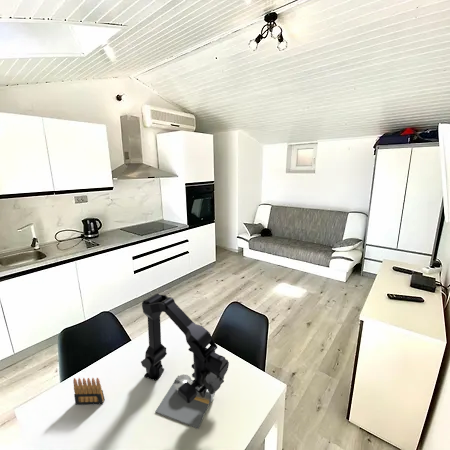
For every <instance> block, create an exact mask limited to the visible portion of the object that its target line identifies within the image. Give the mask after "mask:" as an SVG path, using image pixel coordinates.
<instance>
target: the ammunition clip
mask: <svg viewBox="0 0 450 450" xmlns="http://www.w3.org/2000/svg"><path fill="white" fill-rule="evenodd" d="M95 380H96V381H95ZM73 390H74V394H73V395H74V401H75V403H74V404H75V405H76V406H80V405H81V406H85V405H87V406H89V405H91V406H93V405H103V404H104V402H105V396H104V395H105V394H104V390H103V389H102V385H101V382H100V378H99V377H96V379H95V378H94V377H92V378H91V379H90V377H87V379H86V378H85V377H83V379H81V378H80V377H78V379H76V378H75V377H74V378H73Z"/></svg>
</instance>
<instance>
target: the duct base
mask: <svg viewBox="0 0 450 450" xmlns="http://www.w3.org/2000/svg"><path fill="white" fill-rule="evenodd" d="M193 380H194V379H191V381H193ZM210 404H211V402H209V401H208V400H204V399H201V398H197V397H195V399H193V400H192V401H191V402H190V403H187V402H186V401H185V400H184V399H183V398H182V397H181V396H180V395H179V394H178V392H176V391H175V388H174V382H173V383H172V385H171V386H170V387H169V389H168V391H167V392H166V394H165V395H164V397H163V398H162V400H161V402H160V403H159V404H158V406H157V408H156V410H155V413H156V414H159V415H161V416H164V417H165V418H169V419H171V420H174V421H176V422H179V423H182V424H184V425H187V426H188V427H189V426H190V427H193V428H195V429H197V430H199V429H200V426H201V424H202V421H203V419H204V416H205V415H206V412H207V410H208V407H209V405H210Z"/></svg>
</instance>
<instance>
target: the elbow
mask: <svg viewBox="0 0 450 450" xmlns="http://www.w3.org/2000/svg"><path fill="white" fill-rule="evenodd" d="M191 377H192V376H190V375H189V374H180V375H177V377H176V378H175V379H174V381H173V383H174V388H175V391H176V392H178V388H179V387H180V386H181V385H183V384H184V383H185V382H188V383H189V384H190V383H191V382H192V381H191V380H192V378H191ZM196 392H197V391H196ZM215 393H216V392H215ZM215 393H214V394H210V393H209V391H208V390H207V391H206V394H205V397H204V398H202V397H201V395H200V394H199V393H198V392H197V395H196V397H197V398H201V399H204V400H208V401H209V402H210V404H211V403H212V402H213V400H214V397H215Z"/></svg>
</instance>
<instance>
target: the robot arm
mask: <svg viewBox="0 0 450 450" xmlns="http://www.w3.org/2000/svg"><path fill="white" fill-rule="evenodd" d="M141 308H142V312H143V314H144V315H145V316H146V317H147V330H148V331H147V332H148V334H147V335H148V346H147V348H146V351H145V354H144V355H145V356H144V359H142V360H141V361H140V363H141V365H142V368H145V372H146V373H145V374H144V378H145V379H149V380H152V381H155V382H156V381H158V379H159V378H160V377H161V375H163V372H164V371H165V368H163V364H162V360H163V359H165V357H166V356H167V354H168V353H167V347H165V346H164V345H163V343H162V335H161V334H162V332H161V329H162V328H161V315H162V313H165V315H167V316H168V318H169V319H170V320H171V321H172V322H173V323H174V324H175V326H177V328H178V329H179V330H180V331H181V332H182V333H183V334H184V336H185V340H186V343H187V345H188V346H189V347H188V351H189V352H191V353H192V355H193V363H192V364H191V368H192V369H193V373H191V377H192V378H194V379H192V380H193V381H192V382H191V383H190V384H189V383H188V382H185V383H184V384H183V385H181V386H180V387H179V388H178V394H179V395H180V396H181V397H182V398H183V399H184V400H185V401H186V402H187V403H190V402H191V401H192V400H193V399H195V397H196V395H197V392H198V393H199V394H200V395H201V397H202V398H204V397H205V394H206V391H207V390H208V391H209V393H210V394H214V393H216V392H217V391H218V390H220V388H221V386H222V384H223V383H224V382H225V380H224V379H225V375H226V374H227V373H228V370H229V366H230V365H229V364H230V362H229V360H228V359H226V357H225V356H223V355H220V354H219V353H216V351H217V349H218V346H217V344H216V341H215V339H214V338H213V336H212V335H211V332H209V331H208V330H207V329H206V328H205V327H204V326H203V325H199V324H196V323H195V321H193V320H192V319H191V318H190V317H189V316H188V315H187V314H186V313H185V311H183V310H182V309H181V308H180V306H178V305H177V303H176V302H175V299H174V298H173V297H171V296H170V297H168V296H167V295H166V294H159V293H155V294H153V295H151V296H149V297H148V298H146V299H144V300H143V301H142V302H141ZM208 345H209V346H208ZM196 391H197V392H196Z"/></svg>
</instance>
